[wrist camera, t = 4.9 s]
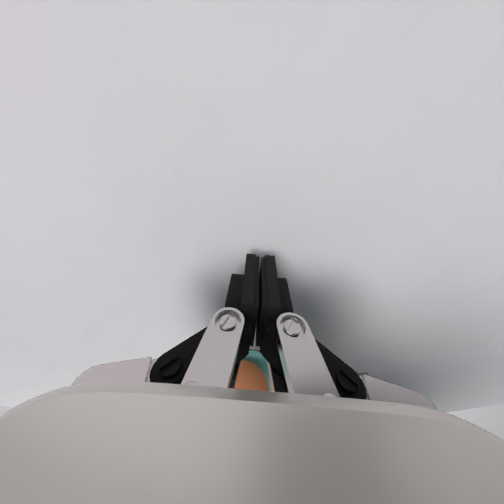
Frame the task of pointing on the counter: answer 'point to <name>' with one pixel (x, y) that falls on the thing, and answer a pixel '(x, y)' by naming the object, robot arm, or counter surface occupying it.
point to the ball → (251, 377)
